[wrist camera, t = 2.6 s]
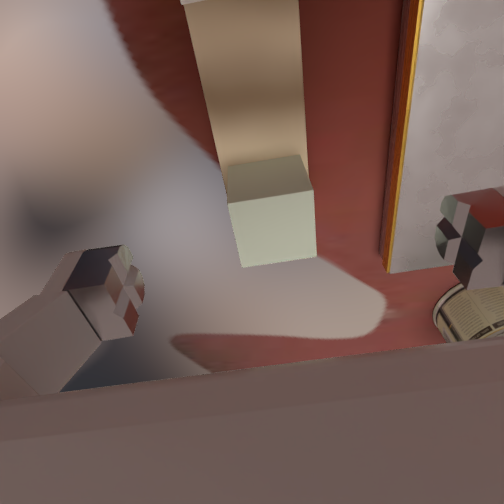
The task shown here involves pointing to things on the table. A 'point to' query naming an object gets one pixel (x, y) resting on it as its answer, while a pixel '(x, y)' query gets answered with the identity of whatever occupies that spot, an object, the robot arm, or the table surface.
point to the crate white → (189, 1)
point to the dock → (441, 121)
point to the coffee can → (470, 313)
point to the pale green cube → (272, 211)
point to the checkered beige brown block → (251, 78)
